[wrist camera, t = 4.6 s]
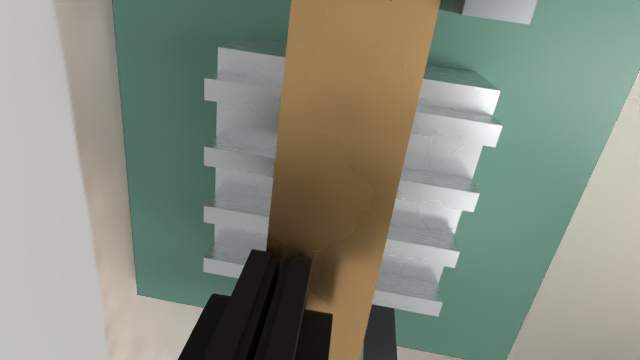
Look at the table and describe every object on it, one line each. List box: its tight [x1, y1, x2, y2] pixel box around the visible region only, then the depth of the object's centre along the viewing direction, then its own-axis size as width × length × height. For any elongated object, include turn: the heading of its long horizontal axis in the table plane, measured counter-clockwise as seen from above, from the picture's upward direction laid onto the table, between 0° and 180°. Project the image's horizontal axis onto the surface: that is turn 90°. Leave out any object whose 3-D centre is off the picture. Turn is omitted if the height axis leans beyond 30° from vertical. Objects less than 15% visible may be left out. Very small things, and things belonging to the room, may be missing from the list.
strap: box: [266, 0, 441, 360], centre depth 10 cm, size 3×14×2 cm, turn 172°
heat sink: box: [203, 0, 538, 317], centre depth 12 cm, size 8×12×6 cm, turn 172°
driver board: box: [112, 0, 640, 360], centre depth 14 cm, size 18×18×7 cm
